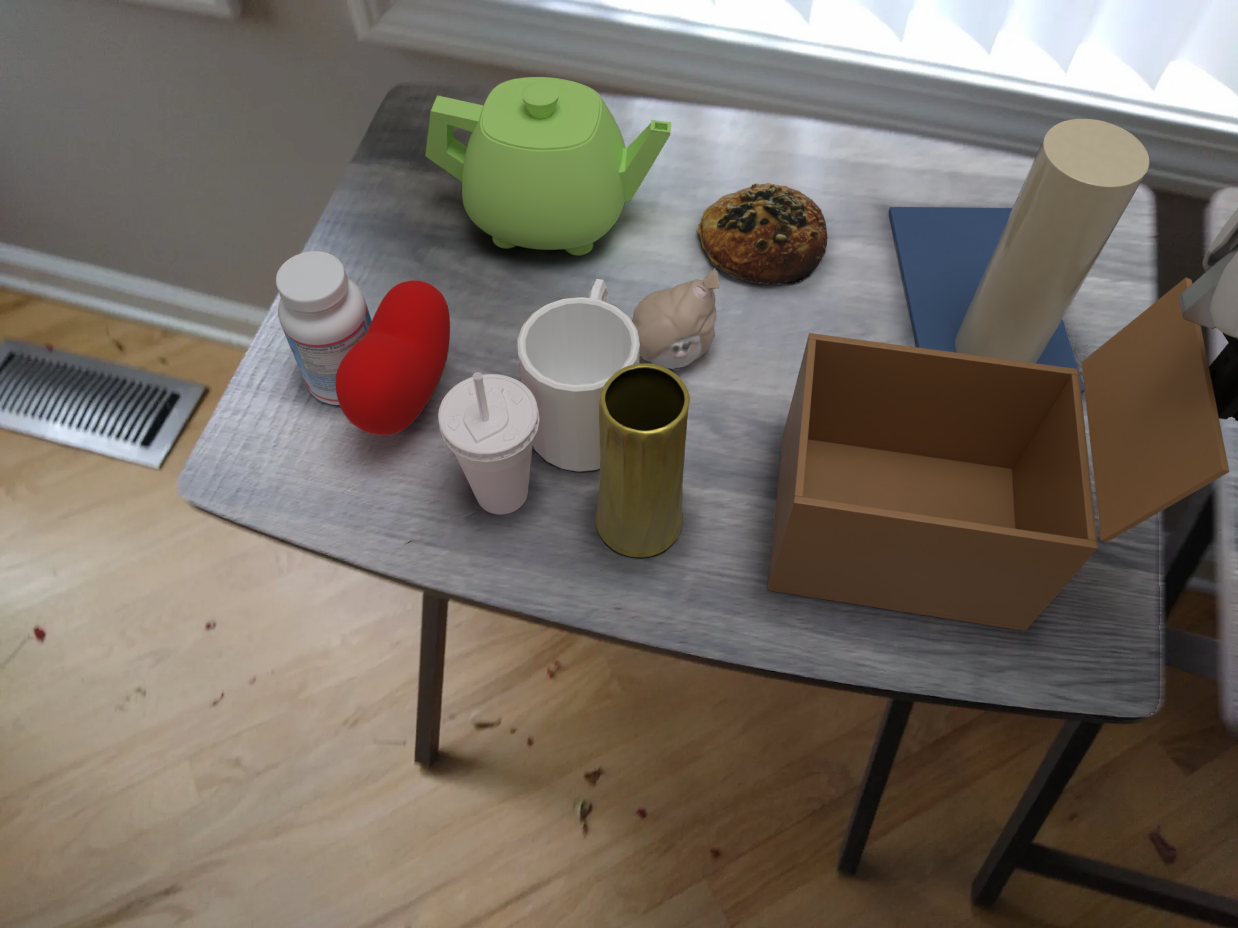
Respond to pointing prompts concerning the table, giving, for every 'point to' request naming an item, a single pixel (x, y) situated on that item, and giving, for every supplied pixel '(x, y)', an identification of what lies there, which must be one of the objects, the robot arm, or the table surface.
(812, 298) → the table surface
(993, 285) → the beige cylinder rod
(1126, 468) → the flap
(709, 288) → the garlic bulb
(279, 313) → the pill bottle
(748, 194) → the bread roll
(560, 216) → the teapot
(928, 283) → the mat
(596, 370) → the mug
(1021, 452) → the carton
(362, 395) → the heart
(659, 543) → the vase
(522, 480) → the smoothie
